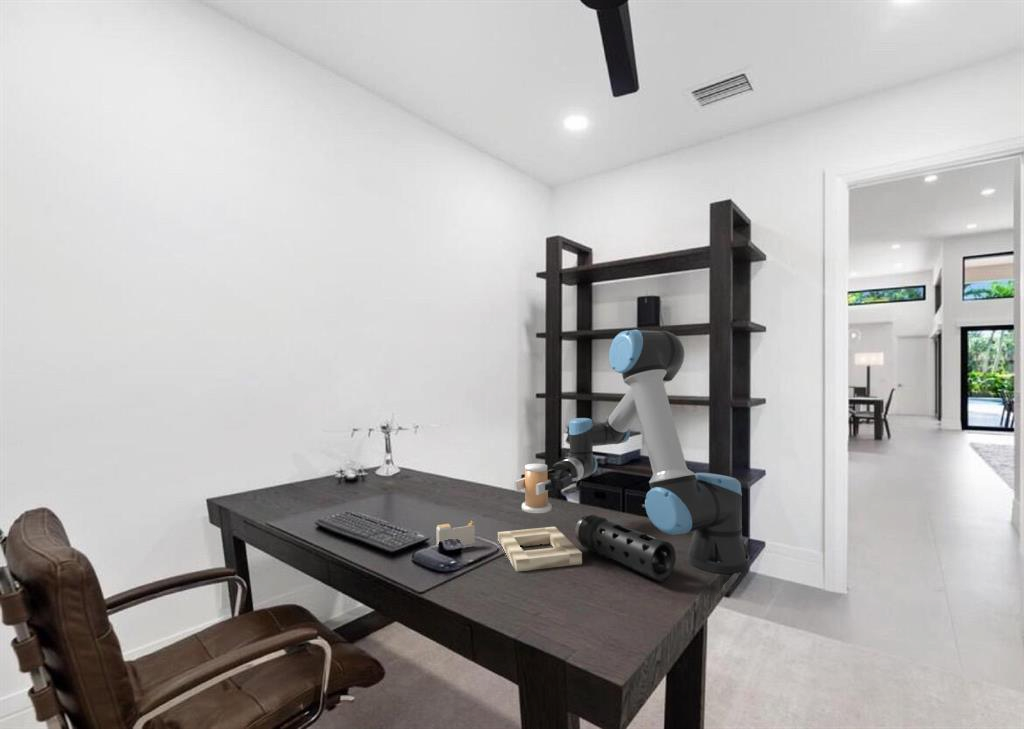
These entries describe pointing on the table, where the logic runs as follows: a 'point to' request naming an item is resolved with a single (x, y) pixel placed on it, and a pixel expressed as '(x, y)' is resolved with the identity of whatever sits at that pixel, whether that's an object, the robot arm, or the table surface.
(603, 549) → the muzzle brake
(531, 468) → the orange white flanged cylinder
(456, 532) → the model
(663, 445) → the robot arm
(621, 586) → the table surface
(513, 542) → the square wooden frame
